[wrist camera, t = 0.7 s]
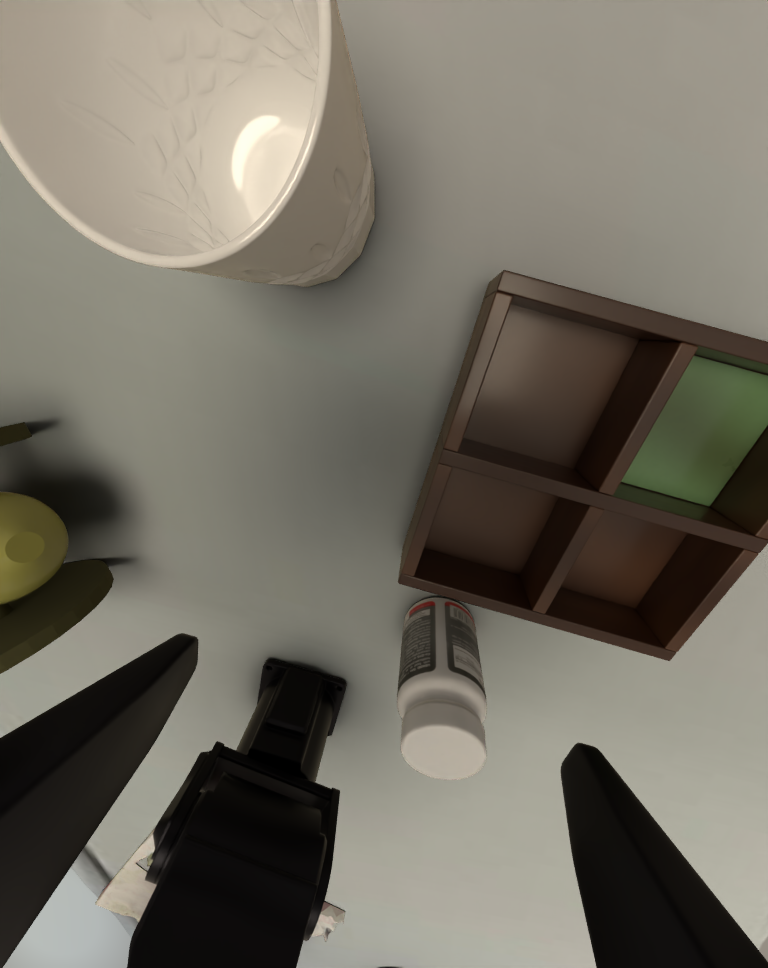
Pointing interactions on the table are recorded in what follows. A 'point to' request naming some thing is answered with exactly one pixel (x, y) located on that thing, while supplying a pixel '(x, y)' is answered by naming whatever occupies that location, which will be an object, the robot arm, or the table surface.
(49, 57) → the white cup
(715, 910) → the robot arm
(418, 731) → the pill bottle
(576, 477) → the rack
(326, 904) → the potted flower
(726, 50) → the table surface
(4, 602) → the cannon
